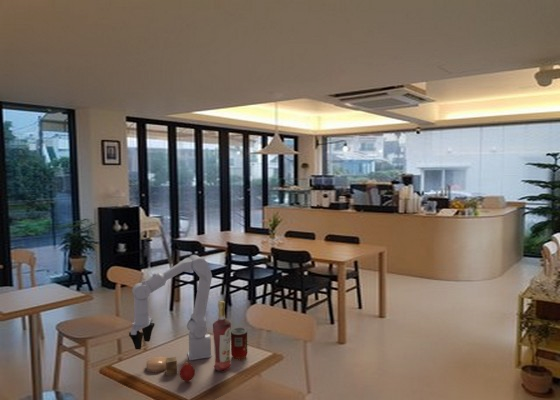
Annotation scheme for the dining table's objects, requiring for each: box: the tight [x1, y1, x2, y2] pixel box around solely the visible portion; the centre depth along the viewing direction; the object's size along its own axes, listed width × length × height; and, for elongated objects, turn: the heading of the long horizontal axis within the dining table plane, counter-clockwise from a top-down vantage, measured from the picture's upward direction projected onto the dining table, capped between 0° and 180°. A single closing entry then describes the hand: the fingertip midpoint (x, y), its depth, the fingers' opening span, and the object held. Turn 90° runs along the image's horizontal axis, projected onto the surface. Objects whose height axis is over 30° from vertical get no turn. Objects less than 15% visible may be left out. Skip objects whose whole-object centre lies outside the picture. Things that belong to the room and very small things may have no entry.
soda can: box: [230, 327, 248, 361], centre depth 177 cm, size 7×7×12 cm
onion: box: [178, 361, 196, 383], centre depth 156 cm, size 6×6×8 cm
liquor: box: [212, 300, 232, 372], centre depth 166 cm, size 7×7×28 cm
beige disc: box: [145, 355, 168, 373], centre depth 169 cm, size 9×9×2 cm
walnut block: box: [165, 356, 178, 377], centre depth 164 cm, size 4×4×6 cm
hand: (142, 345), depth 167 cm, fingers open, 7 cm apart
